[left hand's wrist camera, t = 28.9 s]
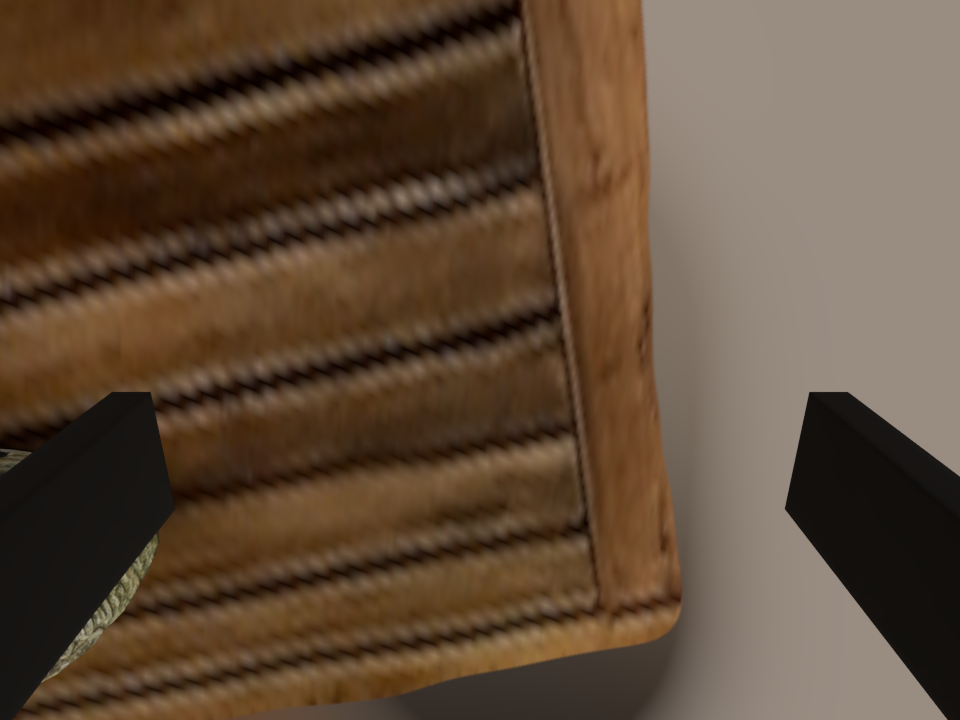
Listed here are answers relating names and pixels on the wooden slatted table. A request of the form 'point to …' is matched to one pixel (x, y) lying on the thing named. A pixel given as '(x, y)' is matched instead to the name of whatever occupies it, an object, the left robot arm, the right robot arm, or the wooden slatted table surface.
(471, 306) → the wooden slatted table surface
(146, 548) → the fossil
